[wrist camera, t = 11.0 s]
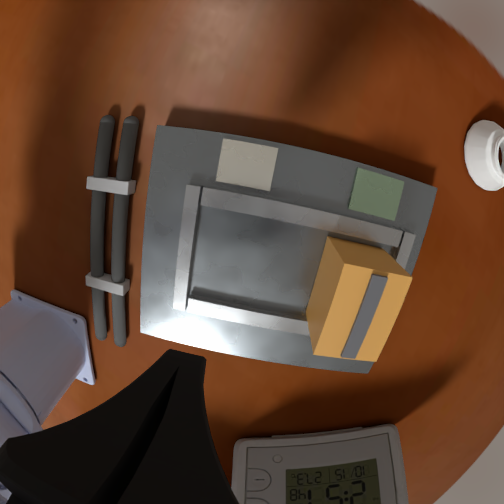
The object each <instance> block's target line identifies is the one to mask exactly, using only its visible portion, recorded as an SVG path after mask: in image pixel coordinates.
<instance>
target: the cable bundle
mask: <svg viewBox="0 0 504 504" xmlns="http://www.w3.org/2000/svg"><path fill="white" fill-rule="evenodd" d="M114 124H115V120H114V118H113V116H111V115H106V116H104V117H102V119H101V121H100V126H99V132H98V139H97V147H96V155H95V164H94V174H93V176H89V177H87V187H86V189H90V190H92V202H91V228H90V261H91V272H89V273H88V274H87V275H86V285H87V286H90V287H91V288H92V303H93V315H94V325H95V335H96V337H97V339H99V340H105V339H106V337H107V327H106V314H105V295H104V291H107V292H110V293H112V313H113V330H114V342H115V344H116V345H117V346H119V347H123V346H124V345H125V344H126V320H125V294H126V293H127V292H128V291H129V290H130V279H126V278H125V256H126V234H127V218H128V205H129V194H132V193H135V187H136V180H131V175H132V167H133V159H134V152H135V145H136V138H137V132H138V126H139V121H138V119H137V118H136V117H135V116H129V117H127V118H126V119H125V120H124V123H123V128H122V135H121V141H120V148H119V156H118V164H117V173H116V178H115V177H108V169H109V160H110V152H111V144H112V137H113V131H114ZM106 192H110V193H115V194H114V207H113V223H112V253H111V275H110V274H107V273H104V222H105V204H106Z"/></svg>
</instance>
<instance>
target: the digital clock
mask: <svg viewBox="0 0 504 504" xmlns="http://www.w3.org/2000/svg"><path fill="white" fill-rule="evenodd" d="M231 489H232V491H233V493H234V495H235V497H236V498H237V500H238V502H239V504H408V494H407V485H406V477H405V470H404V463H403V456H402V450H401V444H400V438H399V433H398V430H397V427H396V426H395V425H393V424H383V425H378V426H373V427H367V428H362V427H357V428H350V429H343V430H336V431H328V432H319V433H308V434H295V435H276V436H272V438H243V439H239V440H237V441H236V443H235V445H234V451H233V469H232V487H231Z"/></svg>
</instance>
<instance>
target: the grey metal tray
mask: <svg viewBox="0 0 504 504" xmlns="http://www.w3.org/2000/svg"><path fill="white" fill-rule="evenodd" d="M436 191H437V188H435V187H433V186H430V185H427V184H424V183H422V182H419V181H416V180H413V179H410V178H407V177H404V176H401V175H398V174H395V173H392V172H389V171H386V170H383V169H379V168H376V167H373V166H369V165H366V164H363V163H359V162H356V161H352V160H348V159H345V158H341V157H337V156H333V155H329V154H325V153H321V152H317V151H313V150H309V149H305V148H300V147H296V146H291V145H286V144H282V143H277V142H272V141H267V140H261V139H256V138H250V137H245V136H239V135H233V134H226V133H220V132H213V131H205V130H198V129H190V128H181V127H172V126H161V125H157V130H156V136H155V142H154V148H153V155H152V162H151V169H150V176H149V185H148V193H147V202H146V213H145V224H144V236H143V251H142V271H141V315H140V321H141V333H145V334H148V335H152V336H155V337H159V338H163V339H167V340H171V341H175V342H178V343H183V344H187V345H191V346H195V347H199V348H204V349H208V350H213V351H217V352H222V353H227V354H232V355H237V356H242V357H247V358H253V359H258V360H264V361H270V362H276V363H282V364H289V365H296V366H303V367H310V368H318V369H326V370H335V371H345V372H355V373H367V374H368V372H369V371H370V369H371V367H372V365H373V363H374V362H372V361H362V360H352V359H343V358H335V357H327V356H319V355H313V350H312V344H311V339H310V333H309V327H308V322H307V316H306V309H307V306H308V302H309V299H310V296H311V293H312V289H313V286H314V282H315V279H316V275H317V272H318V268H319V265H320V261H321V258H322V254H323V250H324V247H325V243H326V239H327V236H330V237H334V238H339V239H343V240H348V241H352V242H357V243H361V244H365V245H370V246H374V247H378V248H383V249H384V250H385V251H386V252H387V253H388V254H389V255H390V256H391V257H392V258H393V259H394V260H395V261H396V262H397V263H398V264H399V265H400V266H402V267H403V268H404V269H405V270H406V271H407V272H408V273H409V274H410V275H412V272H413V269H414V266H415V263H416V260H417V257H418V254H419V251H420V248H421V245H422V242H423V239H424V236H425V232H426V229H427V225H428V222H429V218H430V215H431V211H432V207H433V203H434V200H435V196H436Z"/></svg>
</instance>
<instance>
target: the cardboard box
mask: <svg viewBox="0 0 504 504" xmlns="http://www.w3.org/2000/svg"><path fill="white" fill-rule="evenodd" d="M412 278H413V277H412V276H411V275H410V274H409V273H408V272H407V271H406V270H405V269H404V268H403V267H402V266H400V265H399V264H398V263H397V262H396V261H395V260H394V259H393V258H392V257H391V256H390V255H389V254H388V253H387V252H386V251H385V250H384V249H383V248H378V247H374V246H370V245H365V244H361V243H357V242H352V241H348V240H343V239H339V238H334V237H330V236H327V239H326V243H325V247H324V250H323V254H322V258H321V261H320V265H319V268H318V272H317V275H316V279H315V282H314V286H313V289H312V293H311V296H310V299H309V302H308V306H307V309H306V316H307V322H308V327H309V333H310V339H311V344H312V350H313V355H319V356H327V357H335V358H343V359H352V360H362V361H372V362H376V361H377V359H378V357H379V355H380V353H381V351H382V349H383V347H384V345H385V342H386V340H387V338H388V336H389V334H390V332H391V329H392V327H393V325H394V323H395V320H396V318H397V316H398V313H399V311H400V309H401V306H402V304H403V301H404V299H405V296H406V294H407V291H408V289H409V286H410V283H411V281H412Z"/></svg>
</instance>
